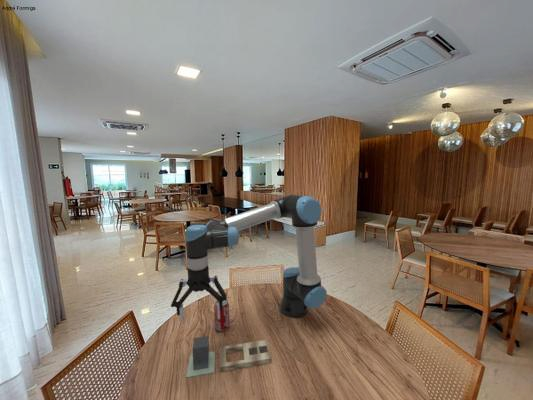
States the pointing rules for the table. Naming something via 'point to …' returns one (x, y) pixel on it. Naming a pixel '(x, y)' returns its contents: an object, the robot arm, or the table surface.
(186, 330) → the table surface
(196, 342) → the block
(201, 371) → the mat
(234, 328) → the table surface
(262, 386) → the table surface
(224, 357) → the plate
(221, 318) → the soda can
